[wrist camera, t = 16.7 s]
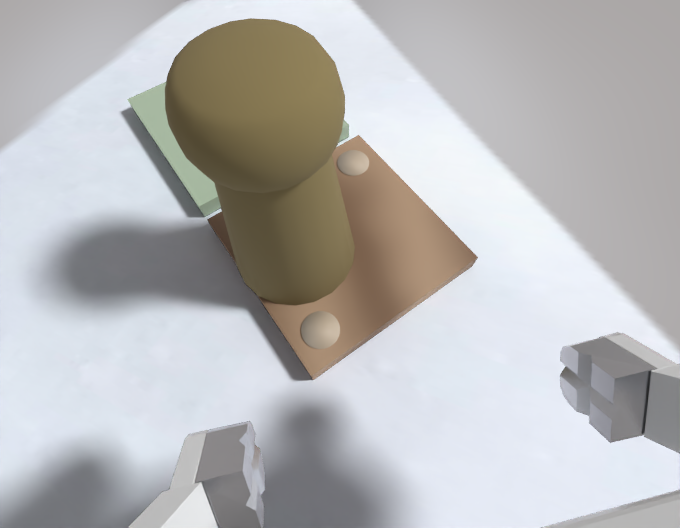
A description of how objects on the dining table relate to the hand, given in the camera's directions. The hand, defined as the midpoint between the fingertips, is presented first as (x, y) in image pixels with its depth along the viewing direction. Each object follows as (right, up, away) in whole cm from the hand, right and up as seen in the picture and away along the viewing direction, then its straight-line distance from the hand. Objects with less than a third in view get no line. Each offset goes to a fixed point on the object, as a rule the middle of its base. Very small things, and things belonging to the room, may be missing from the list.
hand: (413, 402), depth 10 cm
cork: (-4, +4, +10) cm, 12 cm away
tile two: (-2, +4, +11) cm, 12 cm away
